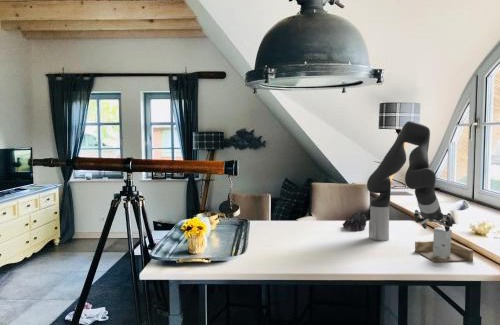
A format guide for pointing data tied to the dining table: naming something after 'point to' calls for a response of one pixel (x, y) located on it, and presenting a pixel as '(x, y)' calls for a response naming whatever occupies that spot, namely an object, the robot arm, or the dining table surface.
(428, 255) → the open cardboard box
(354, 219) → the black rock
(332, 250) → the dining table surface
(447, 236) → the skincare box
